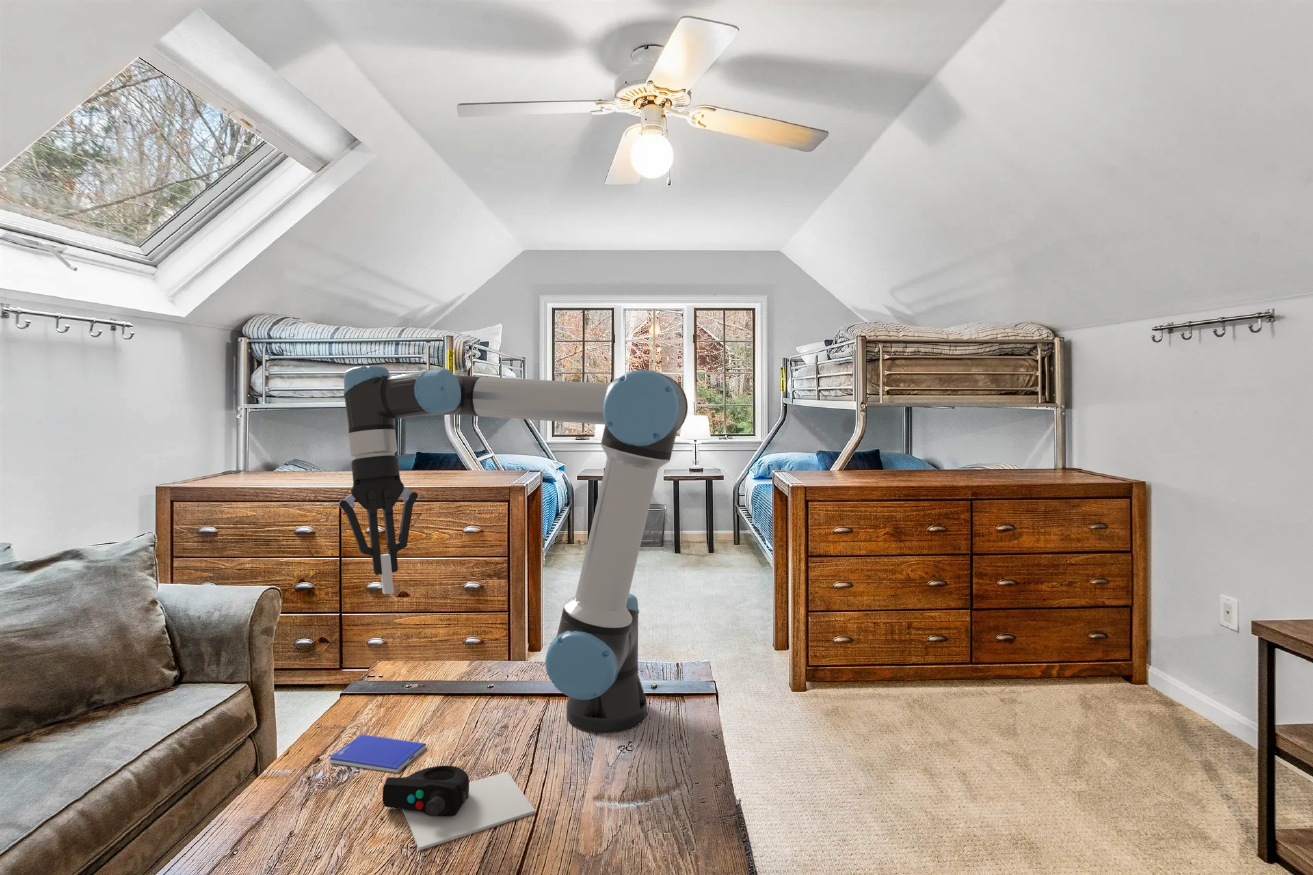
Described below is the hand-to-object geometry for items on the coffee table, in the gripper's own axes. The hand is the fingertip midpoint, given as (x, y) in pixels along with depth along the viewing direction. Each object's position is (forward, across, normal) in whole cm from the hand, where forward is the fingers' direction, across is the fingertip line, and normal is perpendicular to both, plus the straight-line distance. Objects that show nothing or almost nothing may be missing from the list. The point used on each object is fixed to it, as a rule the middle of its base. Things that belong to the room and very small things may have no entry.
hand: (388, 592), depth 117 cm
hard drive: (+27, +4, +1) cm, 27 cm away
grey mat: (+30, -5, +24) cm, 38 cm away
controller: (+27, -4, +17) cm, 31 cm away
